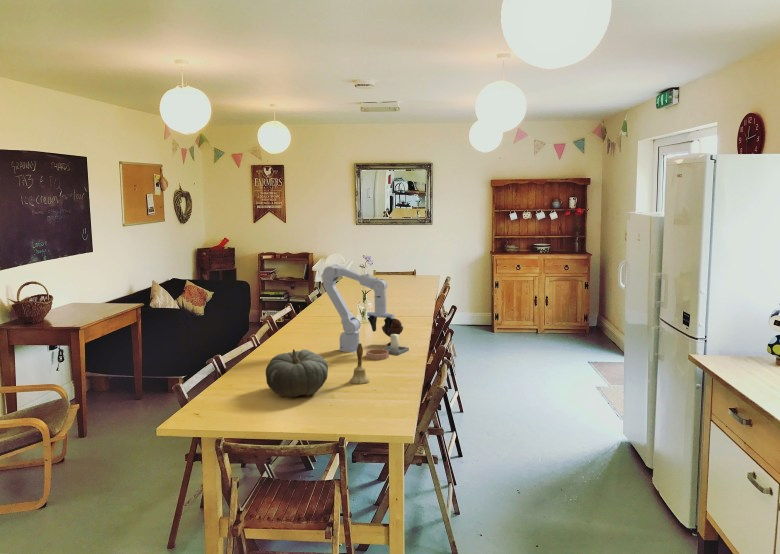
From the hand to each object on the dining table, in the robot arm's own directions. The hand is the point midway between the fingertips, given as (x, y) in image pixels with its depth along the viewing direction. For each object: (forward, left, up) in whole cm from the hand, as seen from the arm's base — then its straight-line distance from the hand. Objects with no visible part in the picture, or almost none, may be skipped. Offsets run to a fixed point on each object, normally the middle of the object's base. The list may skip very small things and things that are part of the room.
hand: (380, 331), depth 299 cm
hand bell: (+17, -44, -11) cm, 48 cm away
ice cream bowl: (-3, +17, -11) cm, 20 cm away
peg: (+6, +4, -10) cm, 12 cm away
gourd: (+4, -68, -11) cm, 69 cm away
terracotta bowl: (+4, -9, -10) cm, 14 cm away
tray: (+6, +4, -10) cm, 12 cm away
